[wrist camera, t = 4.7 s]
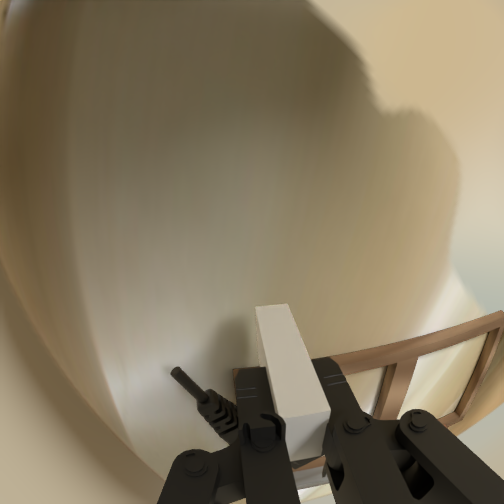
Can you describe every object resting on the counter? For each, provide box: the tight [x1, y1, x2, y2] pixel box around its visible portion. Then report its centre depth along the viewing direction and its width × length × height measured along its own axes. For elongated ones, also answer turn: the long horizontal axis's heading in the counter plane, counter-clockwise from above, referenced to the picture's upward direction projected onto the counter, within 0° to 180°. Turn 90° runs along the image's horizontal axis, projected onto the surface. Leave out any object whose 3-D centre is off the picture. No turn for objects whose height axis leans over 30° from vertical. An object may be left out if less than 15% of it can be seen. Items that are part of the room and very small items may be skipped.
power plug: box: [171, 367, 325, 469], centre depth 17 cm, size 6×8×12 cm
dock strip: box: [233, 310, 504, 490], centre depth 21 cm, size 15×26×3 cm, turn 93°
